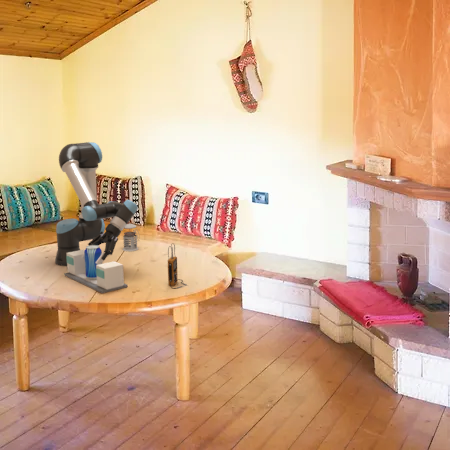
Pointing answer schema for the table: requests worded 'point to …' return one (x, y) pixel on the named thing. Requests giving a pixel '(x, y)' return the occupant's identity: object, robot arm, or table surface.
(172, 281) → the multimeter
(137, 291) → the table surface
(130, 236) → the french press
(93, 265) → the beer can
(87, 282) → the rail board
